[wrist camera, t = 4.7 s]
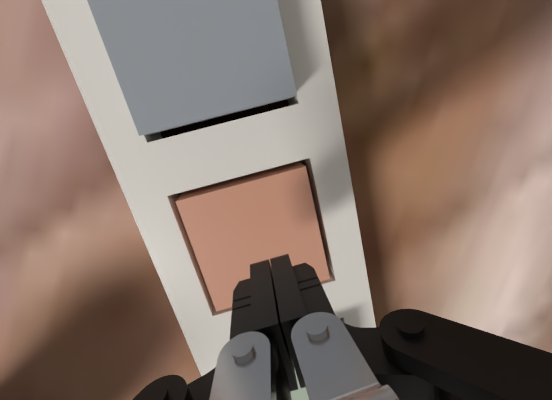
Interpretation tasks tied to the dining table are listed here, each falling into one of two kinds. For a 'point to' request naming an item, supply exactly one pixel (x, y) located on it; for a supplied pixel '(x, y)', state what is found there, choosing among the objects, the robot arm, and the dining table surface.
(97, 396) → the dining table surface
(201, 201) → the terracotta button
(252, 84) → the grey button
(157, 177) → the button panel
